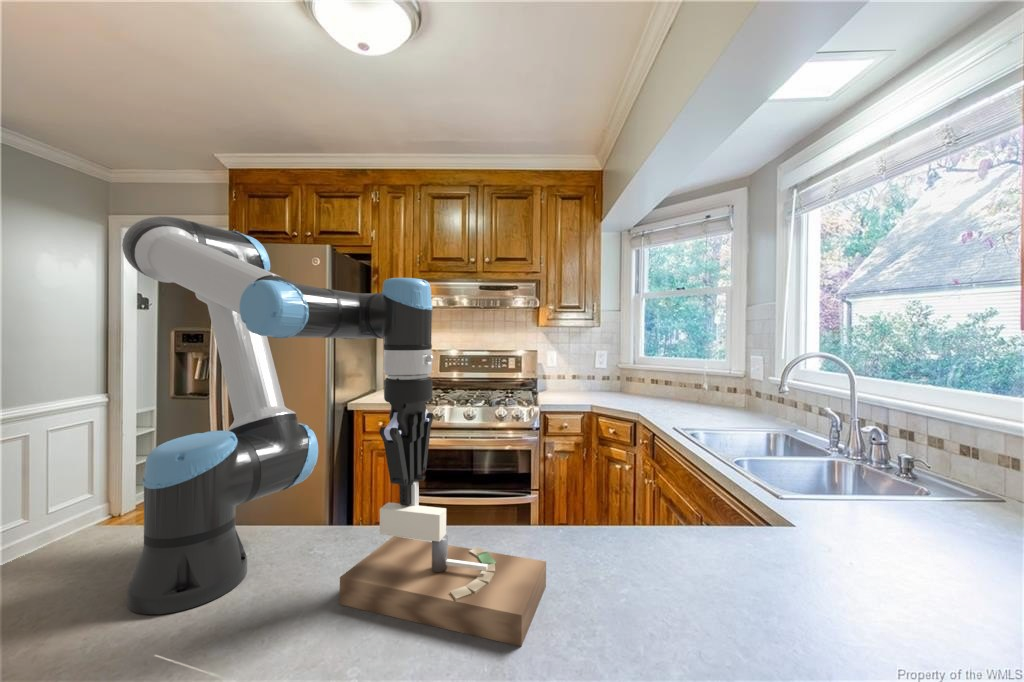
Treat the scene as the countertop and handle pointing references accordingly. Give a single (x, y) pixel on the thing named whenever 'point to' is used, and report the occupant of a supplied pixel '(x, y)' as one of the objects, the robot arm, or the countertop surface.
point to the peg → (422, 531)
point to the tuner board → (448, 589)
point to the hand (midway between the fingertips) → (409, 521)
